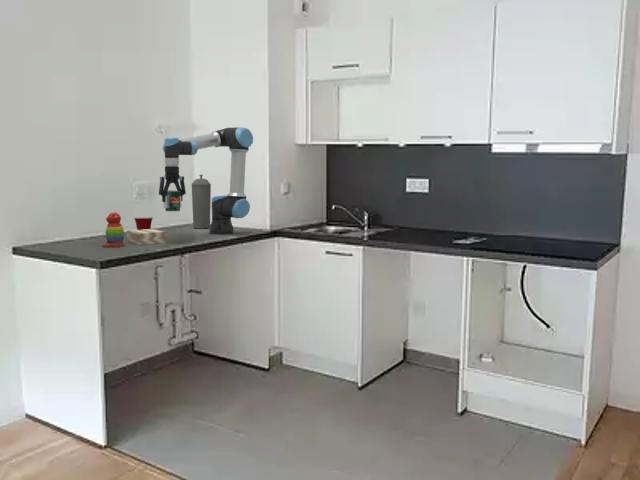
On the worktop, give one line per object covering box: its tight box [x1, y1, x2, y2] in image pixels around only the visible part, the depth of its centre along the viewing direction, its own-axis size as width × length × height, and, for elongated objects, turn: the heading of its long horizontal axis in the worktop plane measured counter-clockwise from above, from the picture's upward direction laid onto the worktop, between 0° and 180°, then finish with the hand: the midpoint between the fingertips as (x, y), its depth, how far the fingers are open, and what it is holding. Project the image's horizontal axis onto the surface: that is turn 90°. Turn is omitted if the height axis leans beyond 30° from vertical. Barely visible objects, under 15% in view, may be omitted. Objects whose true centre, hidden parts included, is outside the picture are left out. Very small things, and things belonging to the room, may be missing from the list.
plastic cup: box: [133, 216, 154, 230], centre depth 361 cm, size 11×11×12 cm
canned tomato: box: [164, 190, 181, 212], centre depth 339 cm, size 8×8×11 cm
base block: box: [126, 228, 168, 246], centre depth 343 cm, size 16×16×6 cm
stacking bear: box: [102, 212, 125, 248], centre depth 326 cm, size 11×10×18 cm
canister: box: [191, 174, 212, 230], centre depth 405 cm, size 13×13×35 cm
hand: (172, 207), depth 340 cm, fingers closed on canned tomato, 8 cm apart
